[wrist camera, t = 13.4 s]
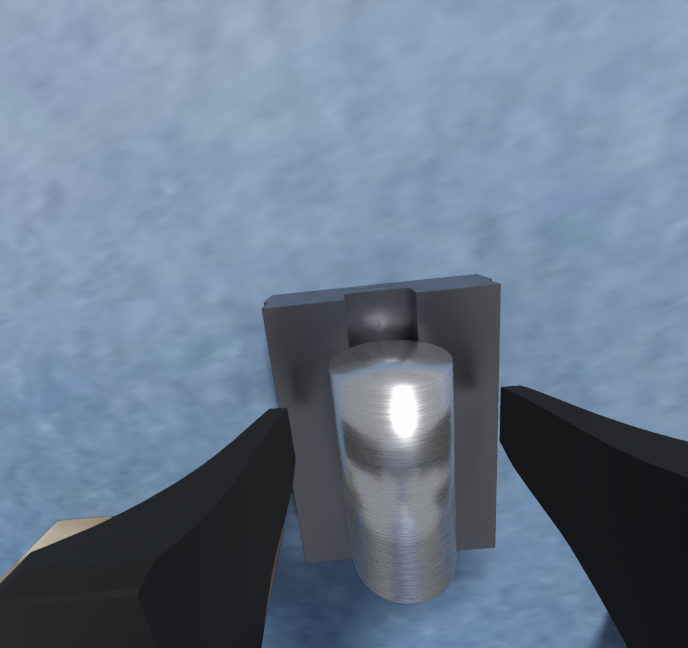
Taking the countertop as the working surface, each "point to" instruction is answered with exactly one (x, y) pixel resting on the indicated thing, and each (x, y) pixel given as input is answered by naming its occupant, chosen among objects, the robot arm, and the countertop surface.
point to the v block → (379, 325)
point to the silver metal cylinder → (398, 465)
